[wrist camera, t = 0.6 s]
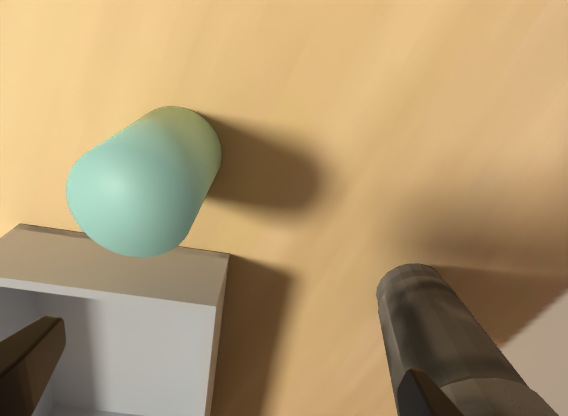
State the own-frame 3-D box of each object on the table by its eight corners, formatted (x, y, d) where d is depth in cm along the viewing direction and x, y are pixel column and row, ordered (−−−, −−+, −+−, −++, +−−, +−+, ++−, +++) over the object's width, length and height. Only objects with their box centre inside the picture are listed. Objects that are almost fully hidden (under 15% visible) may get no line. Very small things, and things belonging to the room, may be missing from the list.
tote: (209, 420, 32) (196, 486, 27) (51, 402, 31) (10, 466, 26) (229, 253, 24) (216, 306, 20) (19, 223, 23) (-45, 271, 19)
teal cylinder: (218, 197, 22) (190, 265, 16) (133, 184, 22) (71, 248, 16) (225, 114, 20) (197, 155, 14) (132, 98, 20) (59, 133, 13)
